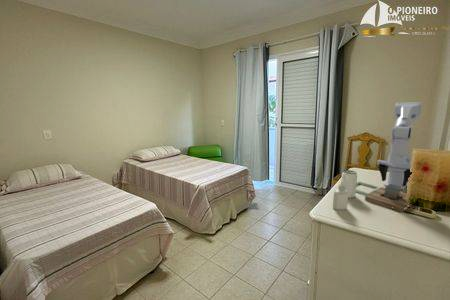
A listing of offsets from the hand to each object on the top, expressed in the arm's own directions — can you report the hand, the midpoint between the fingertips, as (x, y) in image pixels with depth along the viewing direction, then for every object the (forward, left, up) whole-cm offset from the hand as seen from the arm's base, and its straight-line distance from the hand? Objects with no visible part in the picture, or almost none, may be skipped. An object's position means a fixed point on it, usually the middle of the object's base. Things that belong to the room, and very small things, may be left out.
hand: (393, 183), depth 93 cm
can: (+10, -14, -9) cm, 20 cm away
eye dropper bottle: (+26, -9, -9) cm, 29 cm away
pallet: (0, 0, -8) cm, 9 cm away
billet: (0, 0, -8) cm, 9 cm away
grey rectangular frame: (-4, -13, -8) cm, 16 cm away
